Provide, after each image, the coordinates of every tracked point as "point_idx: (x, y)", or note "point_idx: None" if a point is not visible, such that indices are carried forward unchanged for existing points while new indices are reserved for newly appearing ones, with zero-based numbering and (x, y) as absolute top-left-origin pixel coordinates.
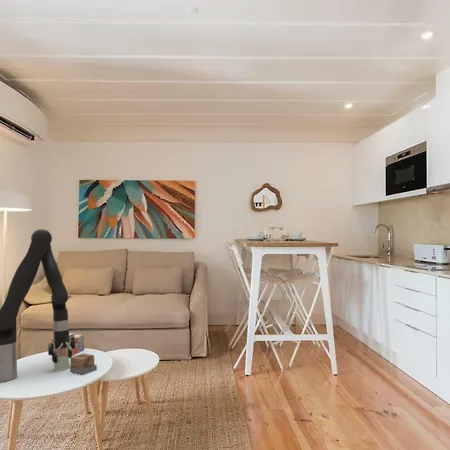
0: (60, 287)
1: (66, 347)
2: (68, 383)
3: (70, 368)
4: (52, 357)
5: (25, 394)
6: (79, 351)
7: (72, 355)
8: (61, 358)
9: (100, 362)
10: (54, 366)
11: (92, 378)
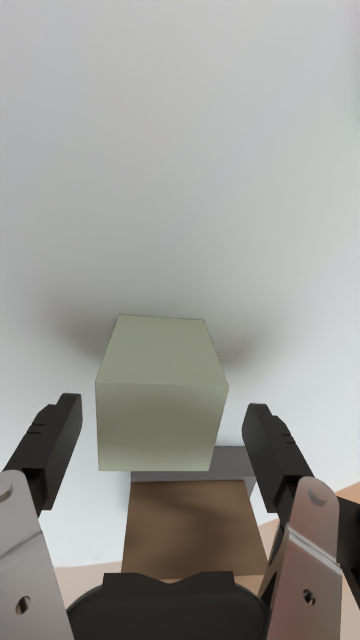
0: None
1: (274, 565)
2: None
3: (131, 473)
4: (14, 454)
5: None
6: None
7: None
8: (130, 457)
9: (348, 455)
10: (113, 331)
11: (122, 558)
